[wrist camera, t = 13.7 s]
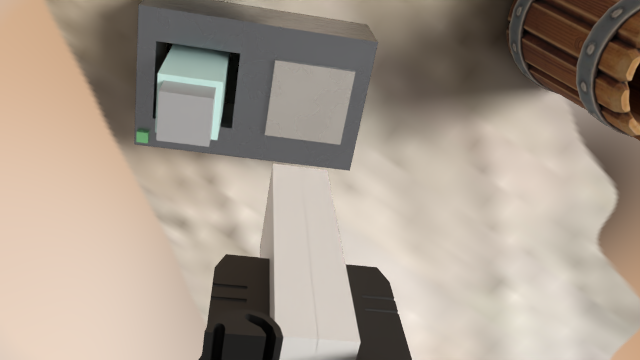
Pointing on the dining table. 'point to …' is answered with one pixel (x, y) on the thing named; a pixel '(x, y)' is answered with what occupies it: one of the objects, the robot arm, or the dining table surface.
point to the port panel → (265, 79)
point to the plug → (191, 95)
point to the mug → (582, 54)
